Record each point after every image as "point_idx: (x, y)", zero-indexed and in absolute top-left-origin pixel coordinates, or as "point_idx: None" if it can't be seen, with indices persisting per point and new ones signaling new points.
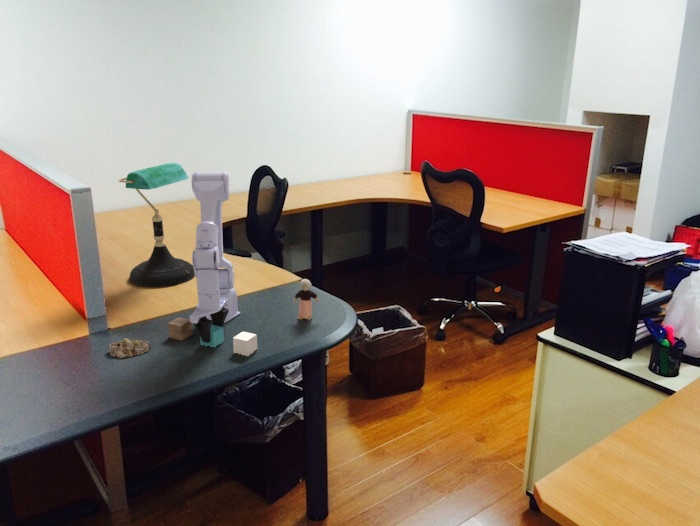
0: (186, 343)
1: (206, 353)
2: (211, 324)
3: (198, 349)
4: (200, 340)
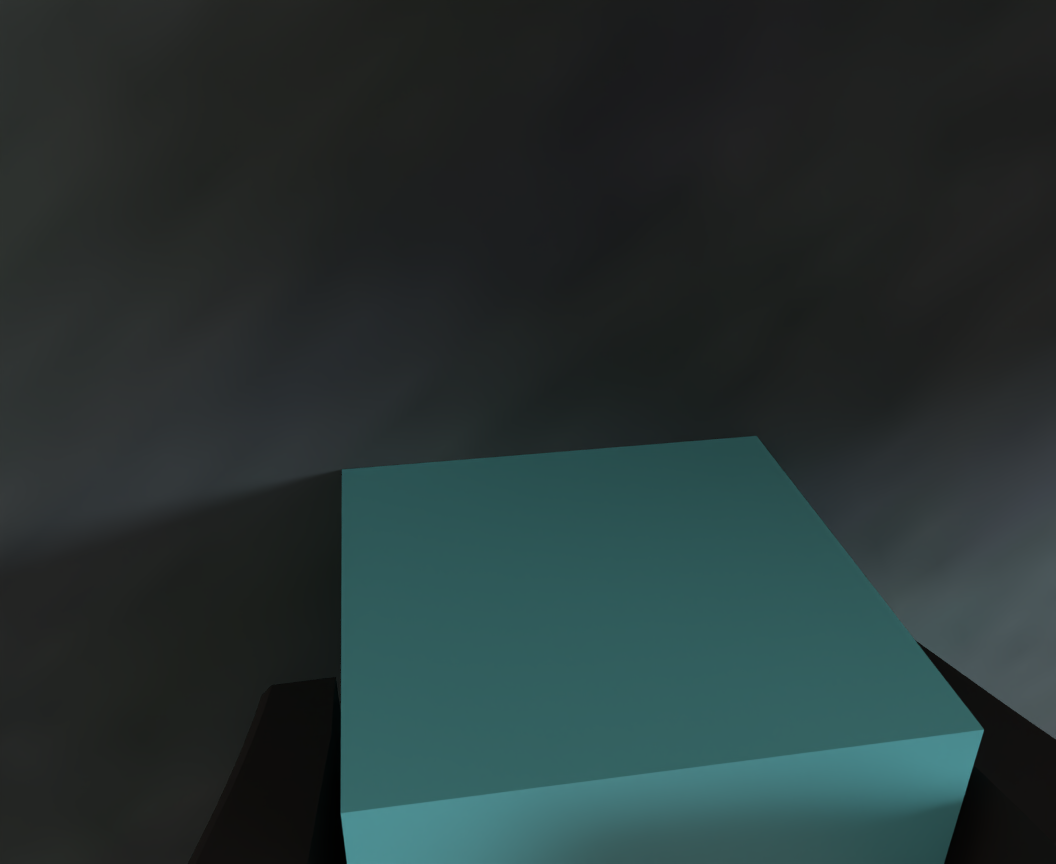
0: (183, 43)
1: (91, 824)
2: (964, 786)
3: (119, 587)
4: (342, 550)
